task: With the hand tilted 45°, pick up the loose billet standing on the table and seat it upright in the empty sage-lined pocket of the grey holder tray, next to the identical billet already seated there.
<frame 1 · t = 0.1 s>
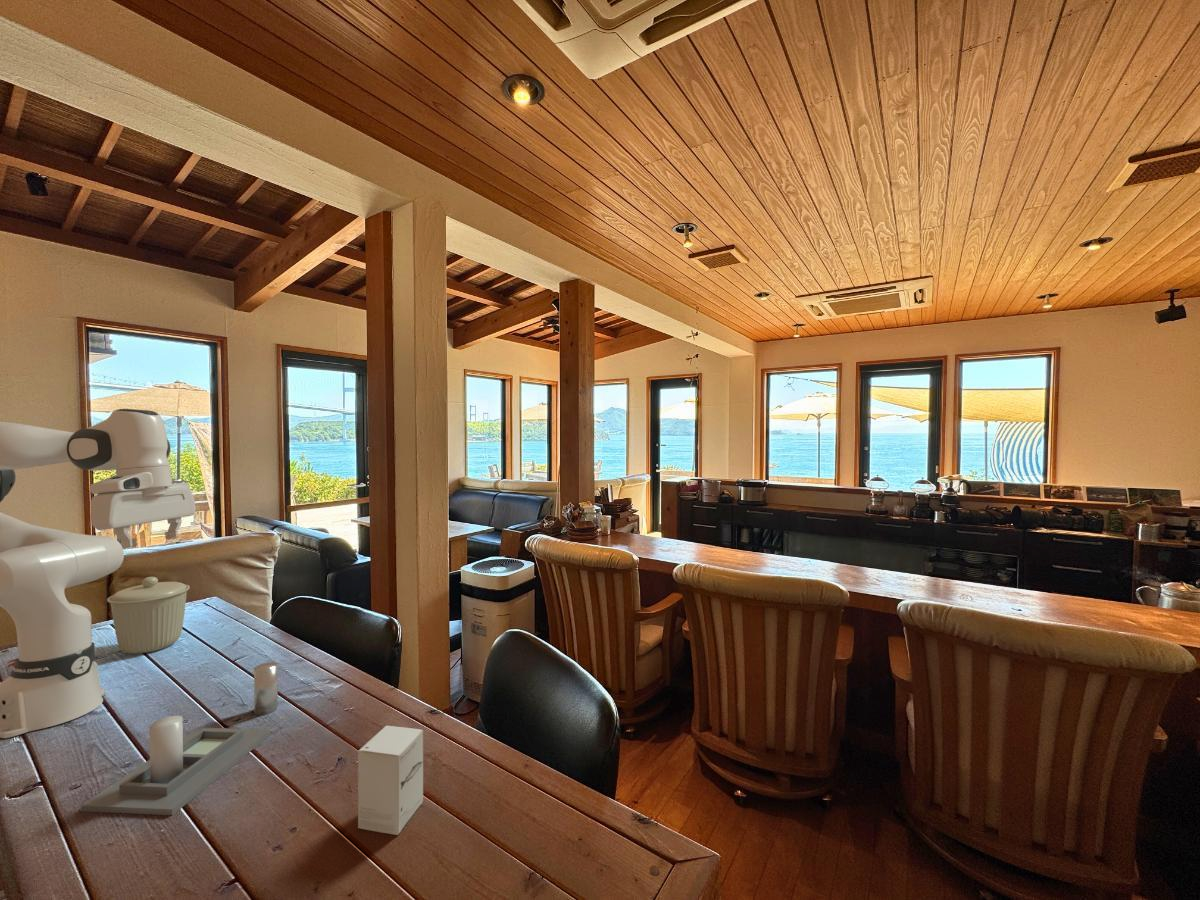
hand: (151, 542, 108), 39 cm above the table, tool pointing down, fingers open, 8 cm apart
canister: (151, 647, 145), on the table
billet: (266, 709, 111), on the table
grey holder tray: (186, 768, 91), on the table
supplement box: (392, 816, 79), on the table
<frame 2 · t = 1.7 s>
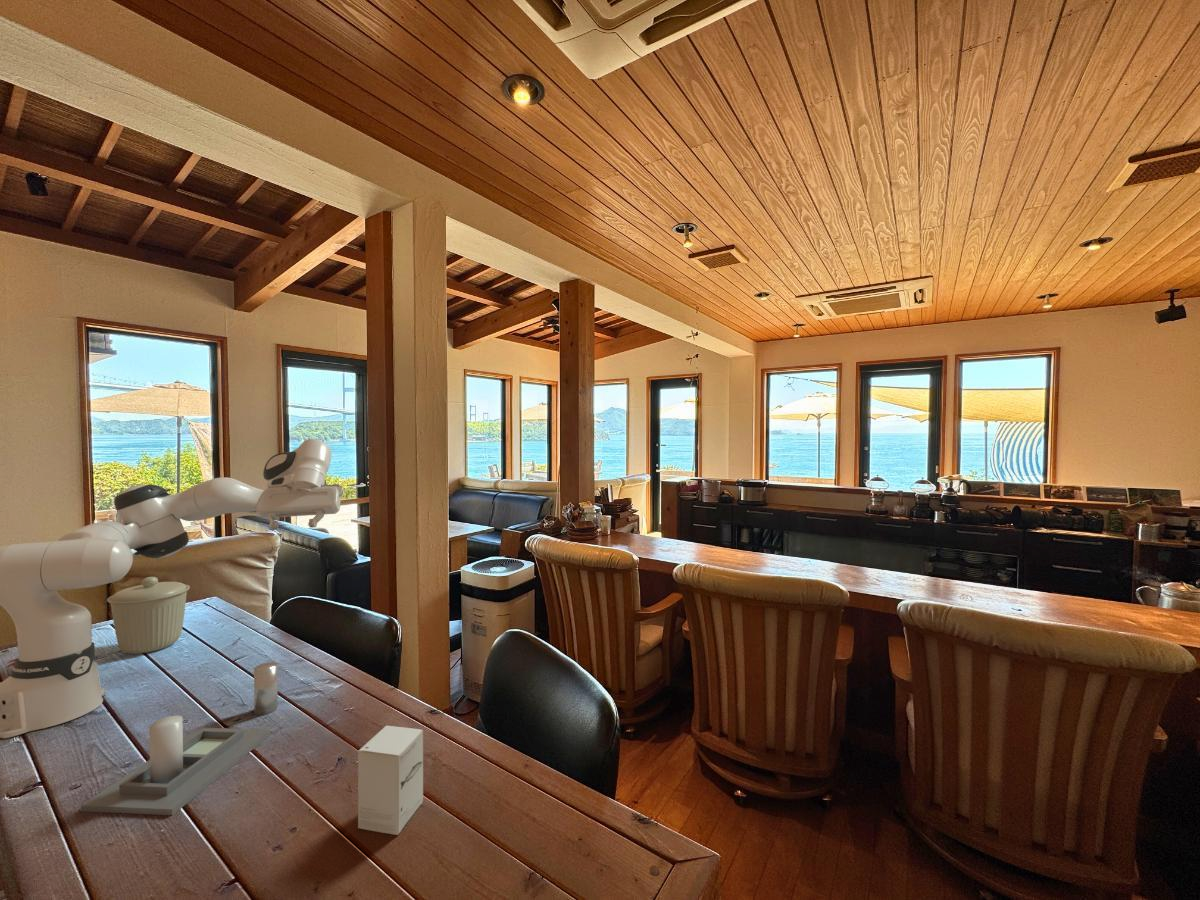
hand: (292, 527, 128), 39 cm above the table, tool tilted 45°, fingers open, 8 cm apart
nothing on the table moved.
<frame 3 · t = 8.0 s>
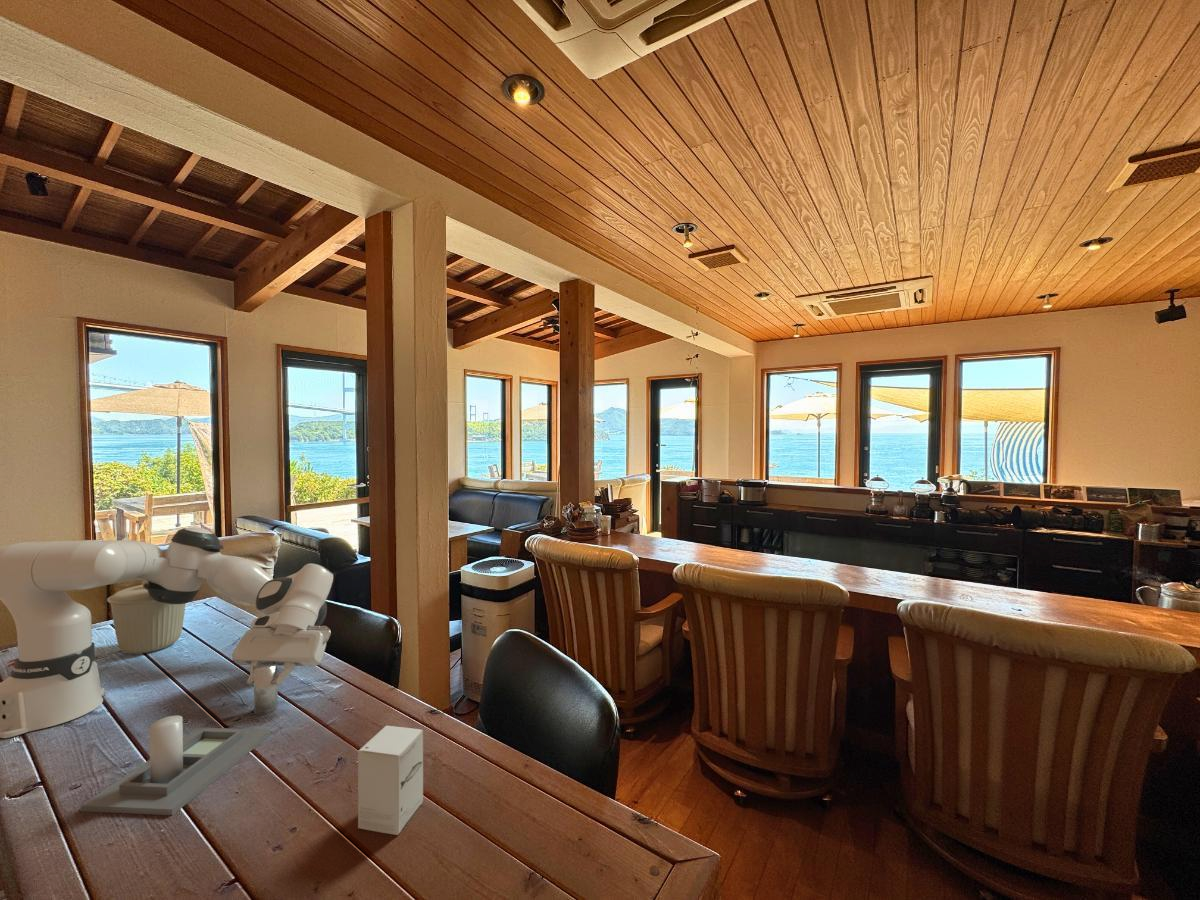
hand: (263, 684, 110), 6 cm above the table, tool tilted 45°, fingers closed on billet, 4 cm apart
billet: (266, 709, 111), on the table, touching gripper
everything else where it was.
when the fingers open (9 cm above the table, at t = 15.9 s): billet drops 1 cm, resting on grey holder tray.
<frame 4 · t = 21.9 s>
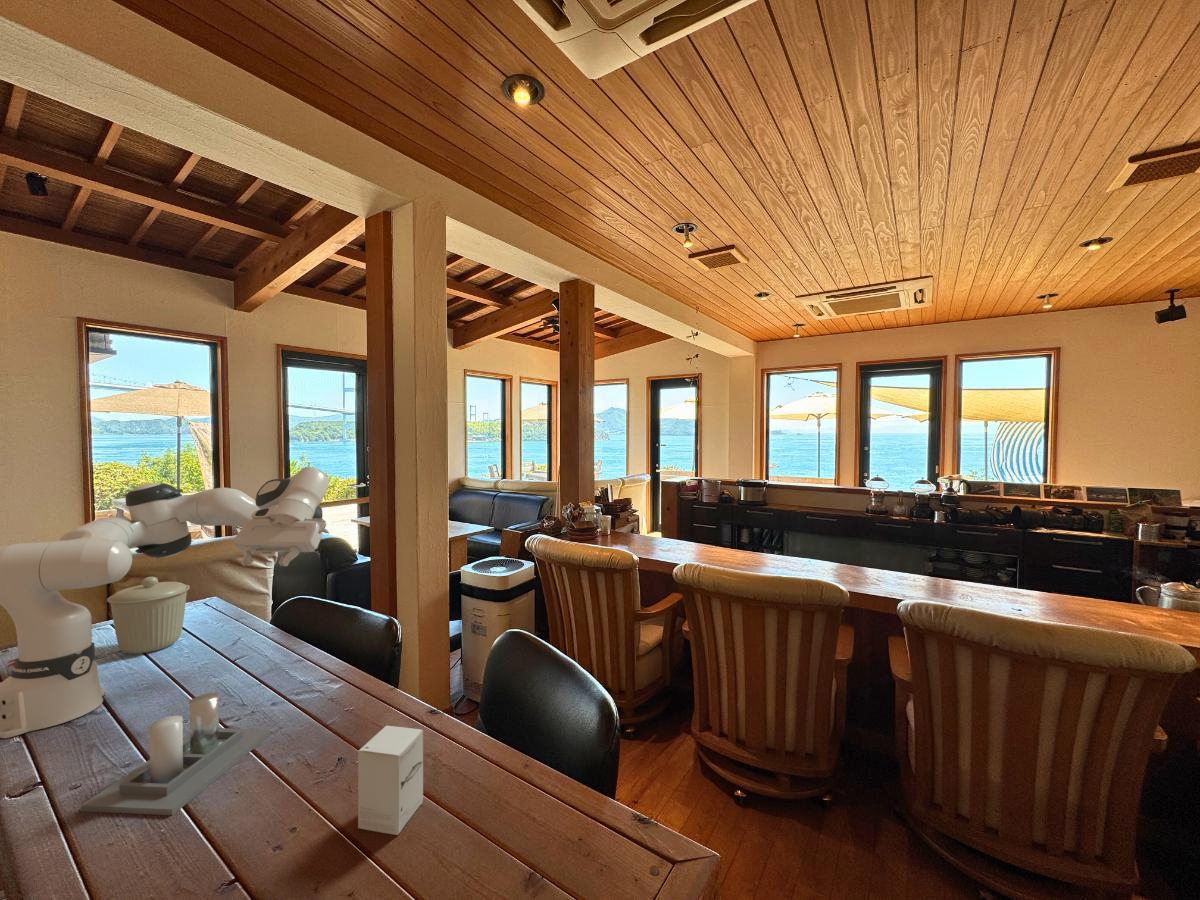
hand: (263, 564, 118), 31 cm above the table, tool tilted 45°, fingers open, 8 cm apart
billet: (204, 749, 95), point 1 cm above the table, touching grey holder tray
everything else where it was.
at the end: billet 0.0 cm from the target spot on the grey holder tray, point 1.1 cm above the grey holder tray's base; billet tilted 0°; the gripper is holding nothing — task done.
